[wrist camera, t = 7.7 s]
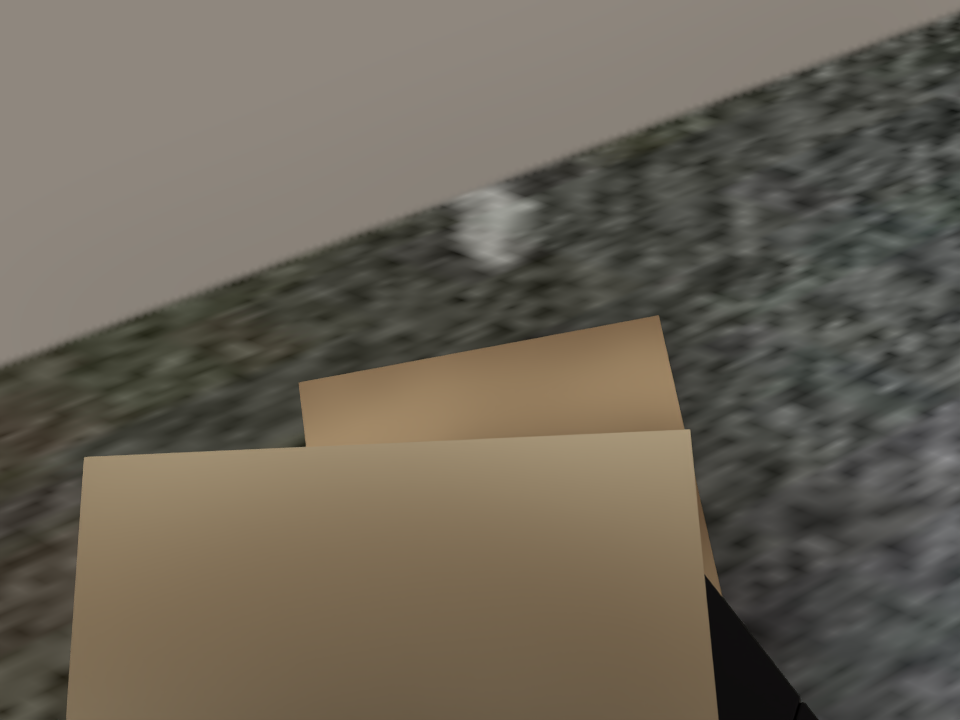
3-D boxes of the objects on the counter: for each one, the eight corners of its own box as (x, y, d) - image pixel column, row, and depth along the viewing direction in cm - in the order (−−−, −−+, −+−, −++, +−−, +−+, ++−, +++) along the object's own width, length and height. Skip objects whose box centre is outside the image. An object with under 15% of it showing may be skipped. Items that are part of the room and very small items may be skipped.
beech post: (603, 659, 16) (766, 1222, 4) (407, 661, 16) (35, 1170, 4) (589, 456, 17) (690, 430, 5) (403, 464, 17) (84, 456, 5)
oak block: (721, 681, 21) (749, 717, 18) (371, 731, 22) (344, 773, 19) (644, 334, 23) (658, 315, 20) (329, 392, 24) (298, 382, 21)
